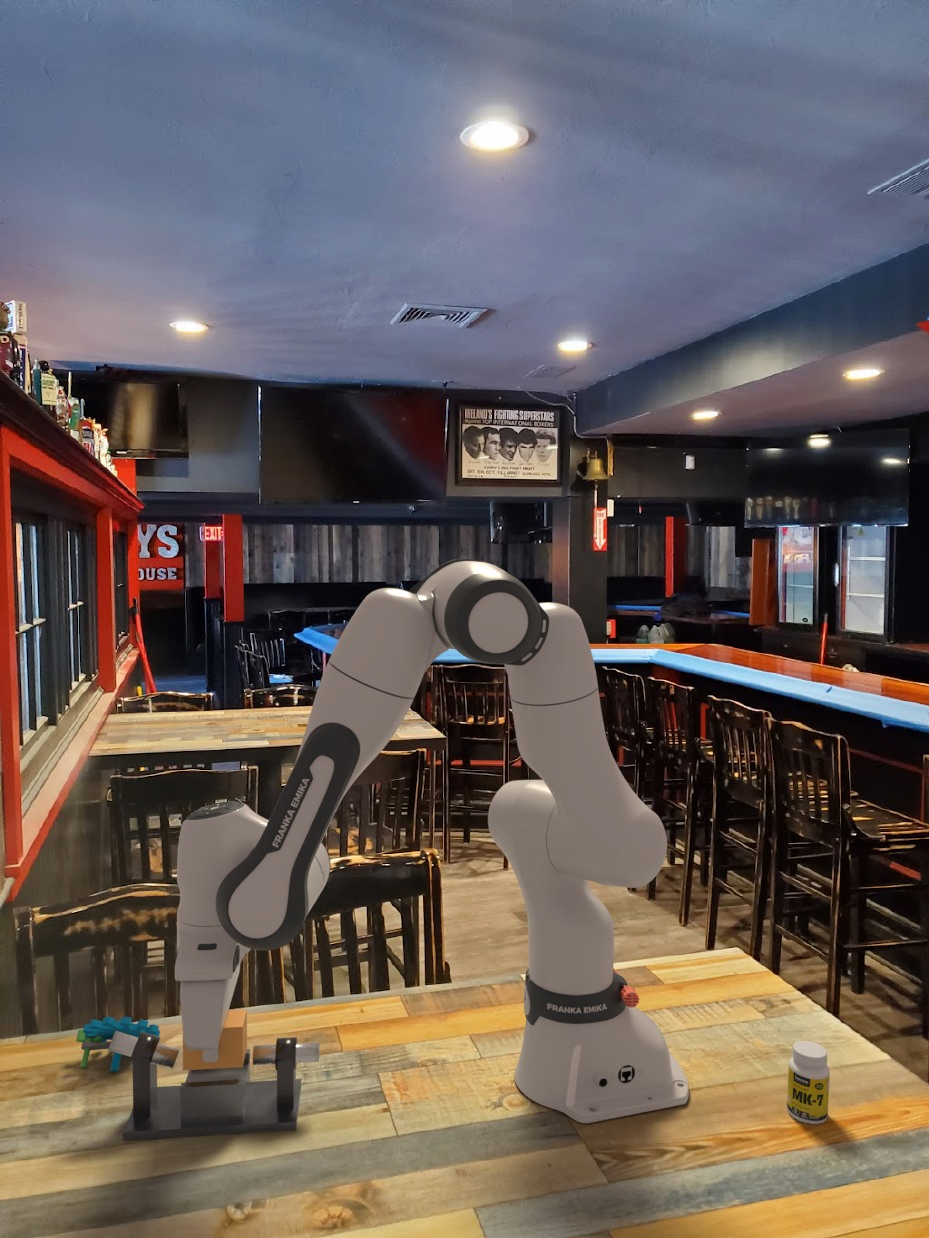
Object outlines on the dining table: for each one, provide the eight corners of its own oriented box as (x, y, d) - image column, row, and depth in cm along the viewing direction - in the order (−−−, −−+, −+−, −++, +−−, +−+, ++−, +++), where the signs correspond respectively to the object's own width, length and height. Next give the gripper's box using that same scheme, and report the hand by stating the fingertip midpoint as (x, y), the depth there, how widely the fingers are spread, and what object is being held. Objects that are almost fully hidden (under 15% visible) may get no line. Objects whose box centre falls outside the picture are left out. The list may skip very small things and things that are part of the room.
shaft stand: (320, 1085, 116) (320, 1004, 115) (317, 1128, 107) (317, 1041, 106) (119, 1096, 113) (118, 1013, 112) (99, 1141, 104) (97, 1052, 103)
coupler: (182, 1070, 107) (182, 1023, 106) (189, 1050, 111) (189, 1005, 111) (242, 1067, 108) (242, 1020, 107) (246, 1047, 112) (246, 1002, 112)
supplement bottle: (786, 1120, 110) (788, 1054, 109) (786, 1099, 114) (788, 1035, 113) (828, 1129, 108) (831, 1062, 107) (827, 1107, 112) (829, 1042, 112)
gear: (172, 1032, 125) (143, 1008, 118) (164, 1078, 121) (134, 1056, 114) (98, 1038, 126) (64, 1015, 119) (87, 1084, 122) (52, 1063, 115)
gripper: (203, 904, 118) (203, 1006, 119) (171, 973, 98) (171, 1095, 99) (251, 903, 119) (251, 1004, 120) (229, 971, 99) (229, 1092, 100)
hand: (215, 1046), depth 109 cm, fingers closed on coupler, 4 cm apart
